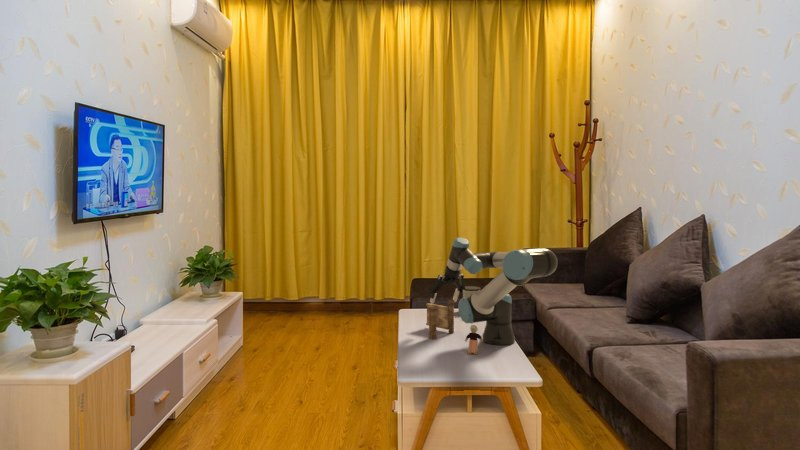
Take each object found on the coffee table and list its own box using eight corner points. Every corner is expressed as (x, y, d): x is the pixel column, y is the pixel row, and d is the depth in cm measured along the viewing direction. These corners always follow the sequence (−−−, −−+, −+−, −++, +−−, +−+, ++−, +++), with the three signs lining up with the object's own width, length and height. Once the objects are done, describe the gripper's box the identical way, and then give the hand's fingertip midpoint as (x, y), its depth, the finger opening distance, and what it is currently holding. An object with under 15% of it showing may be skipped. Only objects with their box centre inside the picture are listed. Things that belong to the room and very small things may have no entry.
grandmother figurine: (465, 354, 225) (465, 326, 224) (464, 352, 229) (464, 323, 228) (483, 354, 225) (483, 326, 224) (481, 352, 229) (482, 323, 228)
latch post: (437, 338, 250) (437, 307, 249) (432, 339, 248) (432, 308, 247) (433, 337, 252) (433, 306, 251) (428, 338, 250) (428, 307, 249)
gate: (449, 329, 261) (449, 307, 260) (447, 329, 260) (447, 307, 259) (428, 324, 270) (428, 303, 269) (426, 325, 269) (426, 303, 268)
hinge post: (455, 333, 259) (455, 299, 258) (450, 334, 258) (450, 300, 256) (451, 331, 262) (452, 298, 260) (446, 332, 260) (447, 299, 259)
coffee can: (462, 308, 312) (462, 285, 311) (479, 309, 311) (479, 286, 310) (462, 313, 302) (462, 289, 301) (480, 313, 301) (480, 289, 300)
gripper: (471, 261, 262) (460, 295, 272) (428, 264, 251) (418, 299, 261) (478, 269, 257) (467, 303, 266) (435, 273, 245) (425, 308, 255)
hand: (443, 301), depth 264 cm, fingers open, 13 cm apart
